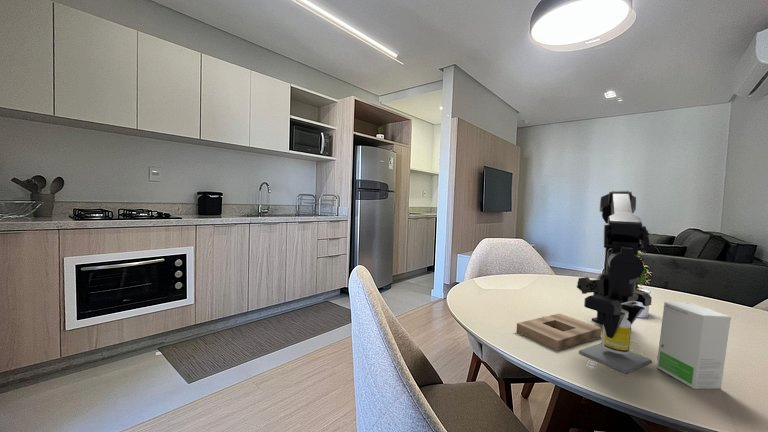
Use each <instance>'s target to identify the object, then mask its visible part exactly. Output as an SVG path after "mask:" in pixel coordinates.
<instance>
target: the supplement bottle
mask: <svg viewBox="0 0 768 432" xmlns="http://www.w3.org/2000/svg"><path fill="white" fill-rule="evenodd" d="M621 312H622V313H625V316H624V318H623V320H622V322H621V323H620V325H619V327H618V329H617V331H616V333H615V335H614V337H613V338H609V337H607V335H606V332H605V328H604V325H603V324H602V330H601V342H600V343H601V344H602V347H603V348H604V349H606V350H608V351H610V352H613V353H617V354H628V353H629V351H630V344H631V334H632V333H631V332H632V325H631V323H630V322H629V321H628V320H627V318H628V311H626V310H623V309H622V310H621Z"/></svg>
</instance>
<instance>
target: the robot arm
mask: <svg viewBox="0 0 768 432" xmlns="http://www.w3.org/2000/svg"><path fill="white" fill-rule="evenodd" d="M636 208H637V197H636V196H634V195H633V193H632V191H630V190H611V191H608V194H604V195H602V196H601V197H600V201H599V212H600V213H601V217H602V219H603V221H604V222H605V223H604V225H603V249H604V248H605V249H604V250H605V251H604V263H603V271H602V272H601V273H600V274H599V275H598V276H597V277H596V278H597V279H590V277H589V276H585V277H579V278H578V279H577V280H578V281H577V285H576V288H577V289H578V290H579V291H580V292H581V294H582V295H585V294H588V293H590V294H591V293H592V295H588V296H586V297H585V298H584V304H583V307H584V308H586V309H590V310H591V311H592V310H593V311H596V317H592V318H591V321H594V322H596V323H599V324H602V326H603V325H604V328H605V332H606V335H607V337H609V338H613V337H614V335H615V333H616V331H617V329H618V327H619V325H620V323H621V322H622V320H623V318H624V316H625V313H622V312H621V310H622V309H623V310H626V311H628V318H627V320H628V321H629V322H630V323H631V326H632V325H633V324H634V322H635V321H636V320H637V318H638V317H639V316H640V315H641V313H643V311H644V310H645V307H649V306H651V305H652V296H651V295H650V294H649V293H648V292H644V291H641V290H636V283H640V277H641V276H642V275H643V273H644V270H645V265H644V262H643V261H642V260H641V259H640V257H639V256H638V255H639V254H638V252H645V253H646V252H647V251H648V250H647V249H650V236H649V230H648V229H647V226H646V225H643V222H642V219H641V217H639V216H638V215H635V211H636V210H637V209H636ZM639 303H641V304H642V306H640V305H639ZM643 306H644V307H643Z"/></svg>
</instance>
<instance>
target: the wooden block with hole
mask: <svg viewBox="0 0 768 432" xmlns="http://www.w3.org/2000/svg"><path fill="white" fill-rule="evenodd" d="M516 332H517V333H518V334H520V335H522V336H524V337H527V338H529V339H531V340H534V341H536V342H537V343H540V344H543V345H544V346H547V347H549V348H551V349H553V350H556V351H560V350H563V349H567V348H570V347H572V346H573V347H574V346H576V345H579V344H581V343H585V342H589V341H592V340H594V339H595V340H596V339H598V338H602V327H600V326H596V325H593V324H590V323H588V322H585V321H582V320H579V319H577V318H574V317H571V316H568V315H565V314H563V313H556V314H551V315H546V316H543V317H538V318H533V319H530V320H525V321H521V322H517V323H516Z"/></svg>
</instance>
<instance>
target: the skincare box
mask: <svg viewBox="0 0 768 432" xmlns="http://www.w3.org/2000/svg"><path fill="white" fill-rule="evenodd" d="M662 312H663V313H662V320H661V327H660V328H661V329H660V336H659V337H660V338H659V345H658V351H657V352H658V353H657V360H656V361H657V362H656V368H657V369H659V370H660V371H663V372H664V373H666V374H667V375H669V376H671V377H673V378H674V379H676V380H678V381H680V382H681V383H683V384H685V385H686V386H688V387H689V388H691V389H694V390H719V389H721V388H722V384H723V383H722V381H723V378H724V377H723V376H724V369H725V367H724V366H725V361H726V355H727V346H728V341H729V340H728V339H729V332H730V327H731V326H730V325H731V320H732V316H730V315H728V314H724V313H721V312H718V311H715V310H713V309H711V308H708V307H705V306H700V305H698V304H694V303H692V302H688V301H686V302H685V301H679V302H678V301H664V303H663V311H662Z"/></svg>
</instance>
